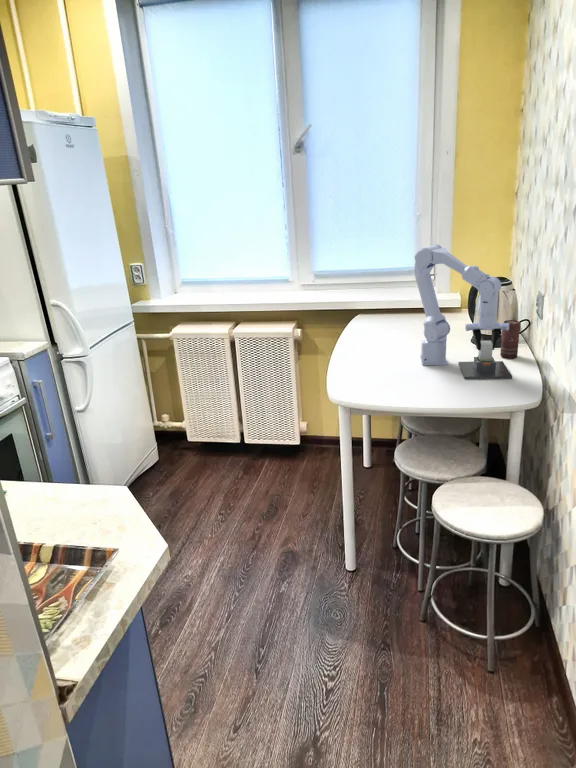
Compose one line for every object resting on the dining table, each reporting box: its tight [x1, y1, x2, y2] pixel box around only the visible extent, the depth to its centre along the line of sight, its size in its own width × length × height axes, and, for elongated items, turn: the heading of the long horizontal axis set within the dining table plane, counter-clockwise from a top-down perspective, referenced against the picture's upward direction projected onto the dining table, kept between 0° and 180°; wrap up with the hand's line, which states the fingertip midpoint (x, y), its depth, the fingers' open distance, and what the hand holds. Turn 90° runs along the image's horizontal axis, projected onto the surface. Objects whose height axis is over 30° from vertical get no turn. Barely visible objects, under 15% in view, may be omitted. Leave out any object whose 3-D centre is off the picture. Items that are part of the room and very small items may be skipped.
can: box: [499, 319, 522, 360], centre depth 215 cm, size 6×6×14 cm
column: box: [477, 339, 494, 362], centre depth 202 cm, size 4×4×8 cm
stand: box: [457, 356, 513, 380], centre depth 204 cm, size 16×16×4 cm
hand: (485, 349), depth 202 cm, fingers closed on column, 4 cm apart
